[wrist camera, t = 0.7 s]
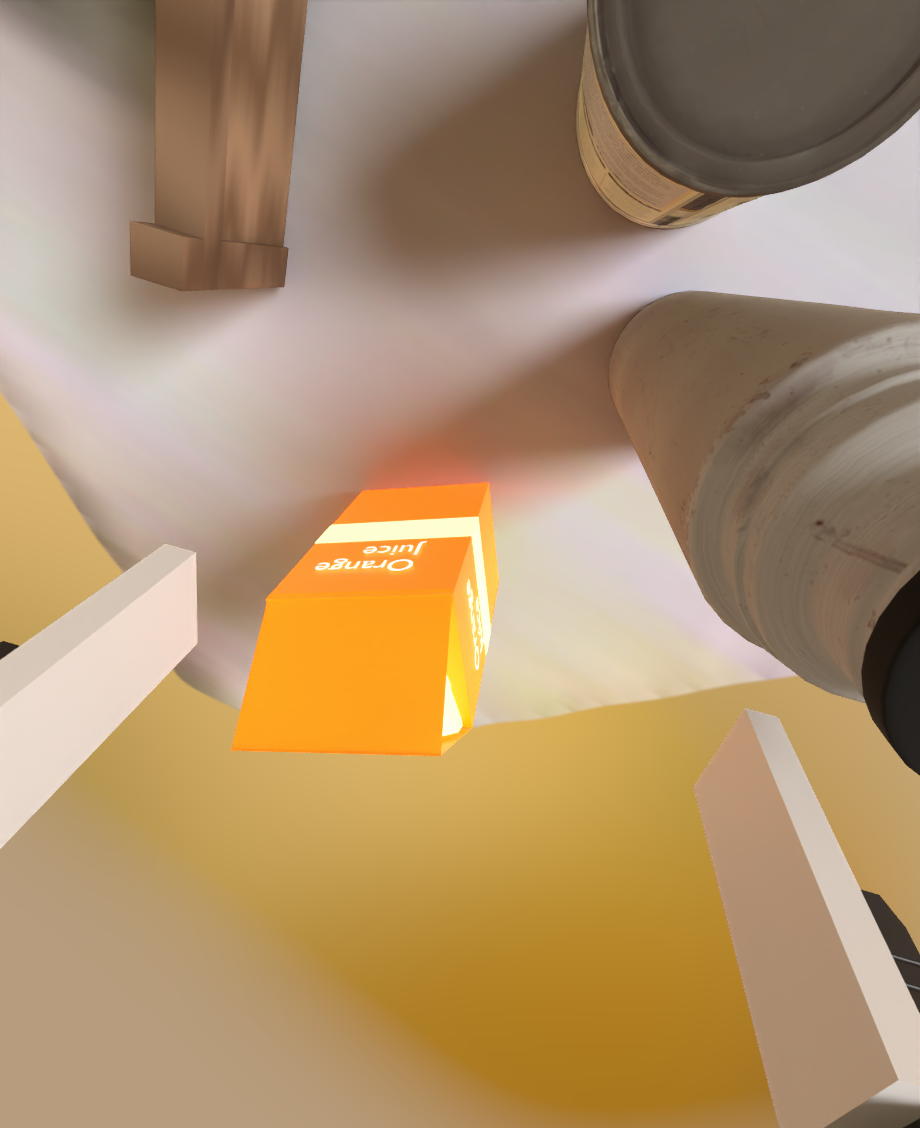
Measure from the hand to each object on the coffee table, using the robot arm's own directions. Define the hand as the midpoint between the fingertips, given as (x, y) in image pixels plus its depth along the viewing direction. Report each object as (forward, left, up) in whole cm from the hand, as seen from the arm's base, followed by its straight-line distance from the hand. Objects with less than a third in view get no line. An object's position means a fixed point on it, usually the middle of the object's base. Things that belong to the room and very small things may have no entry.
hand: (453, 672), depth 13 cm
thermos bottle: (-6, +8, -24) cm, 26 cm away
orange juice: (+9, -3, -24) cm, 26 cm away
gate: (-13, -16, -23) cm, 31 cm away
